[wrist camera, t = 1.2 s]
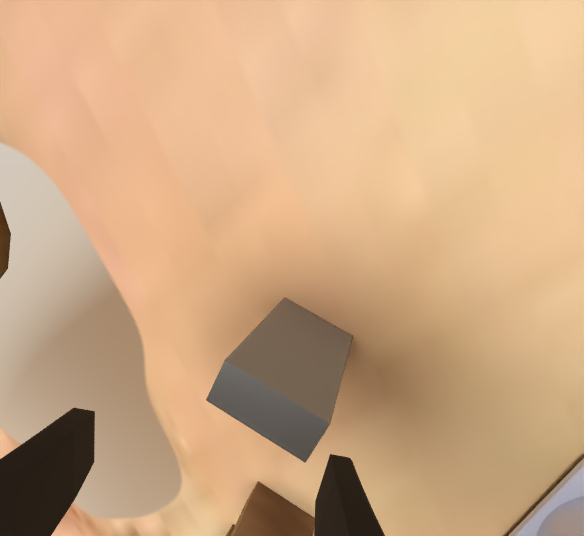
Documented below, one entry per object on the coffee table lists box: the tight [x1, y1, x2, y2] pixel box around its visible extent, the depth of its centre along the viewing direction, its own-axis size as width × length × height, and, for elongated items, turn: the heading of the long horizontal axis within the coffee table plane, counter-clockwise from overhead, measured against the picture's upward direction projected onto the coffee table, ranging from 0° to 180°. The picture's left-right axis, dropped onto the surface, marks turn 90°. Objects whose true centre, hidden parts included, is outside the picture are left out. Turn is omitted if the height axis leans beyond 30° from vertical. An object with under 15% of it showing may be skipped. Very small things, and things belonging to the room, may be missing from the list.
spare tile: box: [206, 298, 353, 462], centre depth 17 cm, size 4×2×8 cm, turn 63°
